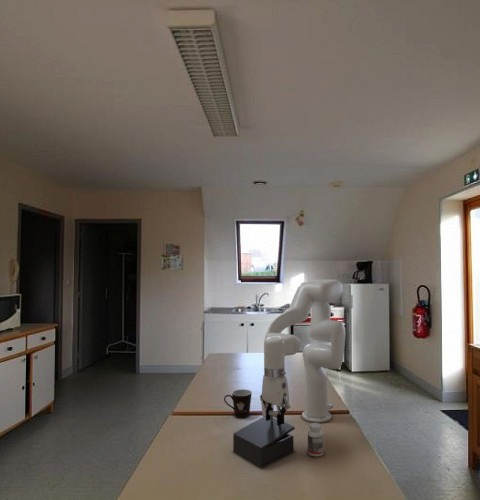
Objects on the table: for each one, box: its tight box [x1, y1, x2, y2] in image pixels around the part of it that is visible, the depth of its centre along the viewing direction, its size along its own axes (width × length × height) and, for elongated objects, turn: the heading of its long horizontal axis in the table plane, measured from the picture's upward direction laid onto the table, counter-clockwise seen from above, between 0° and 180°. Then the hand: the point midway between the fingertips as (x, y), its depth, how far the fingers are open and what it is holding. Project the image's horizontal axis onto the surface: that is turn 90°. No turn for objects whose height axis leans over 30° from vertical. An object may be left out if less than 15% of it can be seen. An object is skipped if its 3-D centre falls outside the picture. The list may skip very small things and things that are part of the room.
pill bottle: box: [307, 422, 324, 457], centre depth 134 cm, size 5×5×10 cm
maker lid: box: [232, 410, 296, 450], centre depth 135 cm, size 16×15×5 cm
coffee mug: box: [223, 388, 253, 420], centre depth 169 cm, size 12×9×10 cm
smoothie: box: [259, 397, 275, 417], centre depth 163 cm, size 6×6×14 cm
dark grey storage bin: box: [232, 433, 295, 469], centre depth 135 cm, size 16×15×6 cm
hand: (274, 421), depth 139 cm, fingers closed on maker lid, 5 cm apart
